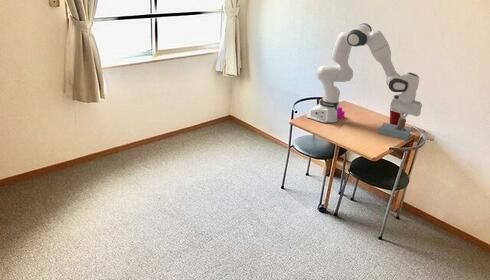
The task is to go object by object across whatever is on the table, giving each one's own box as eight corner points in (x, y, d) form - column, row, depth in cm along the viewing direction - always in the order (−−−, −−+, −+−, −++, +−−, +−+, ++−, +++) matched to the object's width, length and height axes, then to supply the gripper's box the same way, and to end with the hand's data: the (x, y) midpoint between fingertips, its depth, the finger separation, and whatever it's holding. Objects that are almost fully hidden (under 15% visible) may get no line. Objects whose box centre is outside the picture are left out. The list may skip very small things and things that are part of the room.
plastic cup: (405, 127, 274) (409, 111, 270) (393, 129, 270) (397, 112, 265) (394, 122, 283) (398, 107, 279) (382, 123, 279) (386, 107, 275)
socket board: (378, 133, 258) (379, 127, 257) (382, 128, 270) (383, 122, 269) (407, 140, 251) (408, 134, 249) (409, 134, 262) (411, 128, 261)
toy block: (343, 117, 287) (345, 107, 284) (336, 117, 285) (337, 108, 282) (333, 111, 300) (334, 102, 297) (326, 111, 298) (327, 102, 295)
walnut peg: (396, 133, 257) (399, 119, 254) (395, 131, 261) (398, 117, 257) (402, 134, 256) (406, 120, 253) (402, 132, 260) (405, 118, 257)
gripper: (425, 102, 244) (420, 122, 249) (396, 93, 259) (392, 113, 264) (419, 103, 240) (414, 124, 245) (391, 94, 255) (386, 114, 261)
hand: (402, 118), depth 255 cm, fingers closed
